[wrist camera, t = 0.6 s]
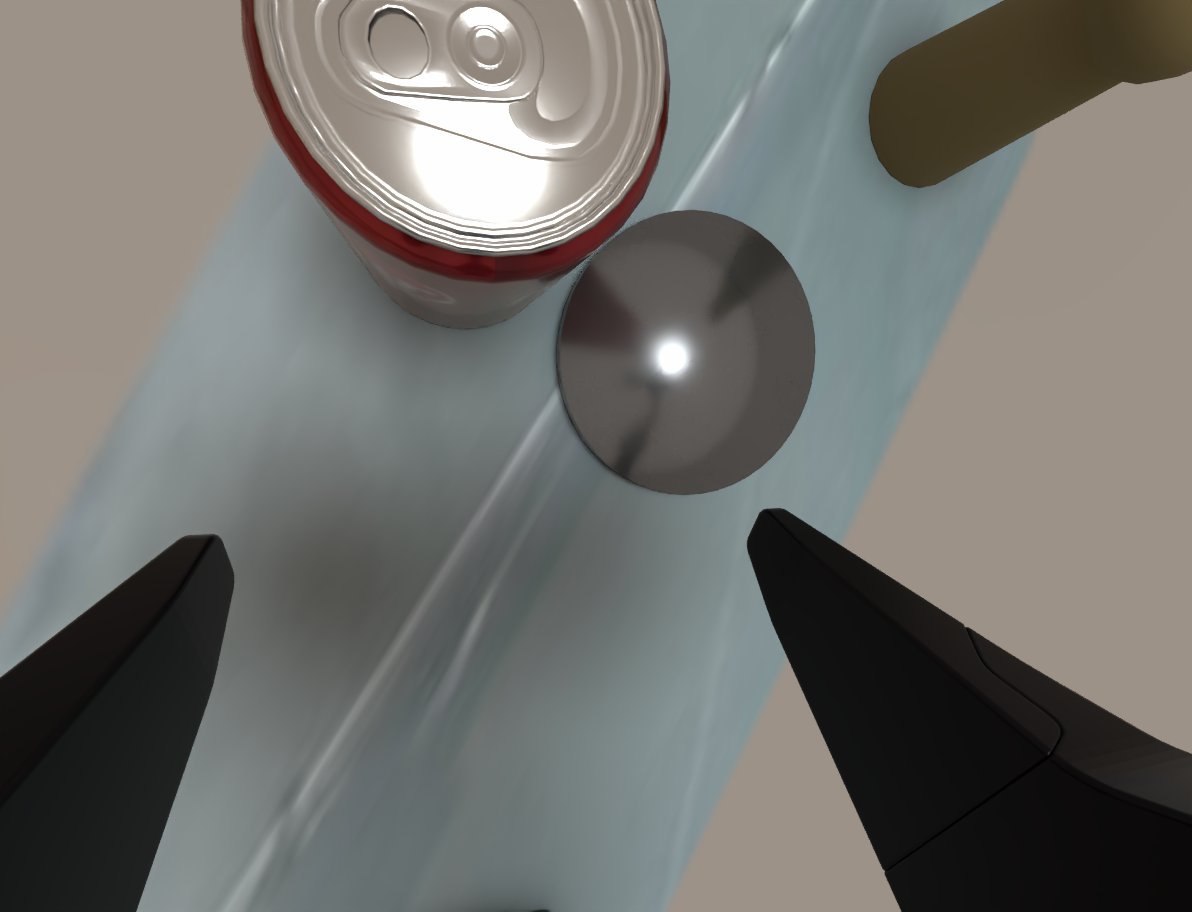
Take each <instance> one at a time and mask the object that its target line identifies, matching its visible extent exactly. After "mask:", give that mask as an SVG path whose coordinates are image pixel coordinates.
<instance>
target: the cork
mask: <svg viewBox="0 0 1192 912" xmlns="http://www.w3.org/2000/svg"><path fill="white" fill-rule="evenodd" d="M1191 71H1192V0H1004V1H1002V2H1000V3H998V4H996V5H994V6H992V7H990V8H988V9H986V10H984V11H982V12H980V13H978V14H976V15H975V16H973V17H971V18H969V19H967V20H965V21H963V22H961V23H959V24H957V25H955V26H953V27H951V28H949V29H947V30H945V31H943V32H941V33H939V34H938V35H936V36H934V37H932V38H930V39H928V40H926V41H924V42H922V43H920V44H918V45H916V46H914V47H912V48H910V49H908V50H906V51H905V52H903V53H902V54H900V55H898V56H897V57H895V58H894V59H892V60H891V61H890V62H889V64H888V65H887V66H886V68H885V69H884V70H883V71H882V73H881V74H880V75H879V78H878V80H877V83H876V86H875V88H874V91H873V93H872V97H871V105H870V114H869V122H870V130H871V139H872V142H873V145H874V147H875V150H876V153H877V155H878V158H879V160H880V161H881V163H882V164H883V165H884V167H885V168H886V170H887V171H888V172H889V174H890V175H891V176H893V177H894V178H896V179H897V180H899V181H900V182H902V183H903V184H905V185H909V186H914V187H918V188H922V187H926V186H931V185H935V184H937V183H939V182H941V181H943V180H945V179H946V178H948V177H950V176H952V175H954V174H955V173H957V172H959V171H961V170H963V169H965V168H966V167H968V166H970V165H972V164H974V163H975V162H977V161H979V160H981V159H983V158H985V157H986V156H988V155H990V154H992V153H994V152H995V151H997V150H999V149H1001V148H1003V147H1005V146H1006V145H1008V144H1010V143H1012V142H1014V141H1015V140H1017V139H1019V138H1021V137H1023V136H1025V135H1026V134H1028V133H1030V132H1032V131H1034V130H1035V129H1037V128H1039V127H1041V126H1043V125H1045V124H1046V123H1048V122H1050V121H1052V120H1054V119H1055V118H1057V117H1059V116H1061V115H1063V114H1065V113H1066V112H1068V111H1070V110H1072V109H1074V108H1075V107H1077V106H1079V105H1081V104H1083V103H1085V102H1086V101H1088V100H1090V99H1092V98H1094V97H1095V96H1097V95H1099V94H1101V93H1103V92H1104V91H1106V90H1108V89H1110V88H1112V87H1114V86H1115V85H1117V84H1119V83H1121V82H1128V83H1134V84H1142V83H1148V82H1153V81H1158V80H1163V79H1167V78H1173V77H1178V76H1181V75H1183V74H1186V73H1188V72H1191Z"/></svg>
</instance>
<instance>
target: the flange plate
mask: <svg viewBox="0 0 1192 912" xmlns="http://www.w3.org/2000/svg"><path fill="white" fill-rule="evenodd" d="M814 363H815V334H814V327H813V321H812V315H811V312H810V308H809V304H808V301H807V298H806V295H805V293H804V291H803V288H802V286H801V283H800V281H799V280H798V278H797V276H796V274H795V272H794V271H793V269H792V267H791V266H790V264H789V263H788V262H787V260H786V259H785V258H784V256H783V255H782V254H781V253H780V252H779V251H778V249H777V248H776V247H775V246H774V245H773V244H772V243H771V242H770V241H769V240H767V239H766V238H765V237H764V236H762V235H761V234H760V233H759V232H757V231H756V230H754V229H753V228H751V227H749V226H747V225H746V224H744V223H742V222H740V221H738V220H735V219H733V218H731V217H728V216H725V215H721V214H717V213H713V212H708V211H697V210H685V211H673V212H669V213H664V214H659V215H656V216H653V217H651V218H648V219H646V220H643V221H641V222H639V223H637V224H635V225H633V226H632V227H630V228H628V229H626V230H625V231H623V232H622V233H621V234H619V235H618V236H617V237H615V238H614V239H613V240H612V241H610V242H609V243H608V244H606V245H605V246H604V247H603V248H602V249H601V250H600V251H599V252H598V253H597V254H596V255H595V256H594V257H593V258H592V259H591V260H590V262H589V263H588V265H587V266H586V267H585V269H584V270H583V271H582V273H581V274H580V276H579V277H578V279H577V281H576V283H575V285H574V286H573V288H572V290H571V292H570V295H569V297H568V300H567V302H566V305H565V307H564V310H563V314H562V318H561V322H560V326H559V332H558V341H557V372H558V379H559V386H560V390H561V394H562V397H563V401H564V405H565V407H566V409H567V412H568V414H569V417H570V419H571V421H572V423H573V425H574V427H575V428H576V430H577V432H578V434H579V435H580V437H581V438H582V440H583V441H584V442H585V443H586V445H587V446H588V447H589V449H590V450H591V451H592V452H593V453H594V454H595V455H596V456H597V457H598V458H599V459H600V460H601V461H602V462H603V463H604V464H606V465H607V466H608V467H610V468H611V469H612V470H614V471H615V472H616V473H618V474H620V475H621V476H623V477H625V478H627V479H629V480H631V481H632V482H634V483H636V484H638V485H641V486H643V487H646V488H649V489H651V490H655V491H659V492H664V493H668V494H681V495H689V494H702V493H707V492H711V491H716V490H719V489H722V488H725V487H728V486H730V485H733V484H735V483H737V482H739V481H741V480H743V479H744V478H746V477H748V476H749V475H751V474H752V473H754V472H755V471H757V470H758V469H759V468H761V467H762V466H763V465H764V464H765V463H766V462H767V461H768V460H770V459H771V458H772V457H773V456H774V454H775V453H776V452H777V451H778V450H779V449H780V448H781V447H782V445H783V444H784V443H785V441H786V440H787V438H788V437H789V436H790V434H791V433H792V431H793V429H794V427H795V426H796V424H797V422H798V420H799V418H800V416H801V414H802V411H803V409H804V406H805V404H806V402H807V398H808V395H809V391H810V388H811V384H812V378H813V372H814Z"/></svg>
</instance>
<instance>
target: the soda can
mask: <svg viewBox="0 0 1192 912" xmlns="http://www.w3.org/2000/svg"><path fill="white" fill-rule="evenodd" d="M241 21H242V42H243V46H244V50H245V55H246V59H247V63H248V68H249V72H250V76H251V80H252V85H253V89H254V92H255V95H256V97H257V99H258V102H259V104H260V106H261V108H262V111H263V113H264V115H265V118H266V120H267V122H268V124H269V127H270V129H271V131H272V134H273V136H274V138H275V140H276V141H277V143H278V144H279V146H280V147H281V149H282V151H283V152H284V154H285V155H286V157H287V158H288V160H289V161H290V163H291V164H292V166H293V167H294V169H295V170H296V172H297V173H298V175H299V176H300V178H301V179H302V181H303V182H304V184H305V185H306V186H307V188H308V189H309V191H310V192H311V193H312V195H313V196H314V197H315V199H316V200H317V202H318V203H319V204H320V206H321V207H322V208H323V210H324V211H325V213H326V214H327V215H328V217H329V218H330V219H331V221H332V222H333V224H334V225H335V226H336V228H337V229H338V231H339V232H340V233H341V235H342V236H343V237H344V239H345V240H346V242H347V243H348V244H349V246H350V247H351V248H352V250H353V251H354V253H355V254H356V255H357V257H358V258H359V259H360V261H361V262H362V264H363V265H364V266H365V268H366V269H367V271H368V272H369V273H370V275H371V276H372V277H373V279H374V280H375V282H376V283H377V284H378V285H379V286H380V288H381V289H382V290H383V291H384V292H385V293H386V294H387V295H388V296H389V297H390V298H391V299H392V300H393V301H394V302H396V303H397V304H398V305H400V306H401V307H402V308H404V309H405V310H407V311H408V312H409V313H411V314H413V315H415V316H417V317H419V318H421V319H423V320H425V321H427V322H430V323H434V324H437V325H441V326H445V327H448V328H461V329H473V328H481V327H488V326H491V325H494V324H497V323H500V322H503V321H505V320H507V319H508V318H510V317H512V316H514V315H515V314H517V313H519V312H520V311H522V310H523V309H524V308H525V307H527V306H528V305H529V304H530V303H532V302H533V301H534V300H535V299H537V298H538V297H539V296H540V295H542V294H543V293H544V292H545V291H546V290H548V289H549V288H550V287H551V286H553V285H554V284H555V283H556V282H558V281H559V280H560V279H561V278H563V277H564V276H565V275H566V274H568V273H569V272H570V271H571V270H573V269H574V268H575V267H576V266H578V265H579V264H580V263H581V262H583V261H584V260H585V259H586V258H588V257H589V256H590V255H591V254H593V253H594V252H595V251H596V250H597V249H598V248H600V247H601V246H602V245H603V244H604V243H605V242H606V241H607V240H608V239H609V238H611V237H612V236H613V235H614V234H615V233H616V232H617V231H618V230H619V229H620V228H622V226H623V225H624V224H625V222H626V221H627V219H628V218H629V217H630V215H631V214H632V213H633V211H634V210H635V208H636V207H637V206H638V204H639V203H640V201H641V200H642V199H643V197H644V195H645V192H646V190H647V188H648V186H649V184H650V181H651V179H652V177H653V175H654V173H655V170H656V168H657V166H658V163H659V159H660V155H661V150H662V146H663V142H664V138H665V134H666V130H667V123H668V109H669V94H670V75H669V64H668V54H667V44H666V38H665V35H664V31H663V27H662V23H661V19H660V15H659V11H658V8H657V4H656V0H241Z"/></svg>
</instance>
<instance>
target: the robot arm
mask: <svg viewBox="0 0 1192 912" xmlns="http://www.w3.org/2000/svg"><path fill="white" fill-rule="evenodd" d="M747 550H748V554H749V557H750V560H751V563H752V566H753V569H754V572H755V575H756V578H757V581H758V584H759V587H760V590H761V593H762V596H763V599H764V602H765V605H766V608H767V611H768V613H769V616H770V619H771V621H772V624H773V626H774V629H775V631H776V633H777V635H778V638H779V640H780V642H781V644H782V647H783V649H784V651H785V653H786V655H787V658H788V660H789V662H790V664H791V667H792V669H793V671H794V673H795V675H796V678H797V680H798V682H799V684H800V687H801V689H802V691H803V693H804V695H805V698H806V700H807V702H808V704H809V707H810V709H811V711H812V713H813V715H814V718H815V720H816V722H817V724H818V726H819V729H820V731H821V733H822V735H823V738H824V740H825V742H826V744H827V746H828V749H829V751H830V753H831V755H832V758H833V760H834V762H835V764H836V767H837V769H838V771H839V773H840V775H841V778H842V780H843V782H844V784H845V787H846V789H847V791H848V793H849V795H850V798H851V800H852V802H853V804H854V806H855V808H856V811H857V813H858V815H859V817H860V820H861V822H862V824H863V827H864V829H865V831H866V833H867V835H868V838H869V840H870V842H871V844H872V846H873V849H874V851H875V853H876V855H877V857H878V860H879V862H880V864H881V866H882V869H883V870H884V871H885V876H886V878H887V881H888V882H889V885H890V887H891V889H892V891H893V894H894V896H895V898H896V901H897V903H898V905H899V907H900V909H901V912H1192V754H1191V753H1188V752H1186V751H1183V750H1180V749H1178V748H1175V747H1173V746H1171V745H1169V744H1167V743H1164V742H1162V741H1160V740H1158V739H1156V738H1154V737H1153V736H1151V735H1149V734H1147V733H1145V732H1143V731H1141V730H1140V729H1138V728H1136V727H1135V726H1133V725H1131V724H1130V723H1128V722H1126V721H1124V720H1123V719H1121V718H1119V717H1117V716H1116V715H1114V714H1112V713H1110V712H1108V711H1107V710H1105V709H1103V708H1102V707H1100V706H1098V705H1096V704H1095V703H1093V702H1091V701H1090V700H1088V699H1086V698H1084V697H1083V696H1081V695H1079V694H1077V693H1076V692H1074V691H1072V690H1070V689H1069V688H1067V687H1065V686H1063V685H1062V684H1060V683H1058V682H1057V681H1055V680H1053V679H1051V678H1050V677H1048V676H1046V675H1045V674H1043V673H1041V672H1040V671H1038V670H1036V669H1034V668H1032V667H1031V666H1029V665H1028V664H1026V663H1024V662H1023V661H1020V660H1019V659H1018V658H1016V657H1015V656H1013V655H1011V654H1010V653H1008V652H1006V651H1005V650H1003V649H1002V648H1000V647H998V646H996V645H995V644H994V643H992V642H990V641H989V640H987V639H986V638H984V637H983V636H981V635H980V634H978V633H976V632H975V631H973V630H972V629H970V628H969V627H965V626H964V624H962V623H961V622H959V621H958V620H956V619H955V618H953V617H952V616H950V615H948V614H946V613H945V612H944V611H942V610H941V609H939V608H938V607H936V606H934V605H933V604H931V603H930V602H928V601H927V600H925V599H924V598H922V597H920V596H919V595H917V594H916V593H914V592H912V591H911V590H909V589H908V588H906V587H905V586H903V585H901V584H900V583H899V582H897V581H896V580H894V579H892V578H891V577H889V576H888V575H886V574H885V573H883V572H881V571H880V570H878V569H876V568H875V567H874V566H872V565H871V564H869V563H867V562H866V561H864V560H863V559H861V558H860V557H858V556H856V555H855V554H854V553H852V552H850V551H849V550H847V549H846V548H844V547H843V546H841V545H840V544H838V543H836V542H835V541H833V540H832V539H830V538H829V537H827V536H826V535H824V534H822V533H821V532H819V531H818V530H816V529H815V528H813V527H812V526H810V525H808V524H807V523H805V522H804V521H802V520H801V519H799V518H798V517H796V516H794V515H793V514H791V513H790V512H788V511H787V510H785V509H781V508H774V509H764V510H762V511H761V512H760V513H759V515H758V517H757V519H756V521H755V524H754V526H753V528H752V530H751V532H750V534H749V537H748V540H747ZM233 589H234V572H233V569H232V566H231V563H230V560H229V558H228V555H227V552H226V549H225V547H224V544H223V541H222V540H221V538H220V537H219V536H218V535H214V534H204V535H188V536H184V537H182V538H180V539H179V540H177V541H176V542H175V543H173V544H172V545H171V546H170V547H168V548H167V549H166V550H164V551H163V552H162V553H160V554H159V555H158V556H157V557H155V558H154V559H153V560H151V561H150V562H149V563H148V564H146V565H145V566H144V567H142V568H141V569H140V570H139V571H137V572H136V573H135V574H133V575H132V576H131V577H129V578H128V579H127V580H126V581H124V582H123V583H122V584H120V585H119V586H118V587H117V588H115V589H114V590H113V591H111V592H110V593H109V594H107V595H106V596H105V597H104V598H102V599H101V600H100V601H98V602H97V603H96V604H95V605H93V606H92V607H91V608H89V609H88V610H87V611H86V612H84V613H83V614H82V615H80V616H79V617H78V618H76V619H75V620H74V621H73V622H71V623H70V624H69V625H67V626H66V627H65V628H64V629H62V630H61V631H60V632H58V633H57V634H56V635H54V636H53V637H52V638H51V639H49V640H48V641H47V642H45V643H44V644H43V645H42V646H40V647H39V648H38V649H36V650H35V651H34V652H33V653H31V654H30V655H29V656H27V657H26V658H25V659H23V660H22V661H21V662H20V663H18V664H17V665H16V666H14V667H13V668H12V669H11V670H9V671H8V672H7V673H5V674H4V675H3V676H2V677H0V912H136V911H137V908H138V905H139V902H140V899H141V896H142V893H143V890H144V887H145V884H146V881H147V879H148V876H149V873H150V870H151V867H152V864H153V861H154V858H155V855H156V852H157V849H158V846H159V843H160V840H161V838H162V835H163V832H164V829H165V826H166V823H167V820H168V817H169V814H170V811H171V808H172V805H173V802H174V799H175V797H176V794H177V791H178V788H179V785H180V782H181V779H182V776H183V773H184V770H185V767H186V764H187V761H188V758H189V756H190V753H191V750H192V747H193V744H194V741H195V738H196V735H197V732H198V729H199V726H200V723H201V720H202V717H203V715H204V712H205V709H206V706H207V703H208V700H209V696H210V693H211V690H212V687H213V683H214V679H215V675H216V670H217V666H218V661H219V656H220V651H221V646H222V642H223V637H224V632H225V627H226V622H227V618H228V613H229V608H230V603H231V598H232V594H233Z"/></svg>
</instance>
